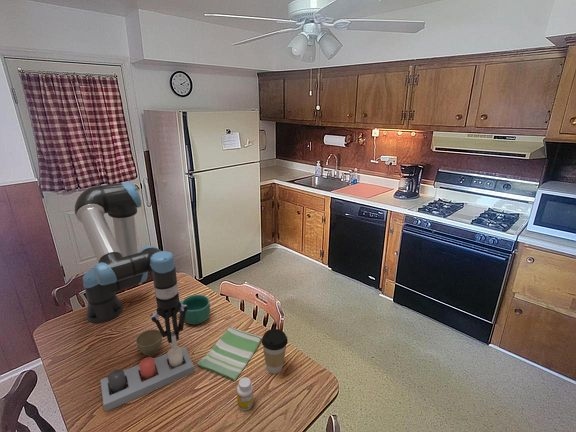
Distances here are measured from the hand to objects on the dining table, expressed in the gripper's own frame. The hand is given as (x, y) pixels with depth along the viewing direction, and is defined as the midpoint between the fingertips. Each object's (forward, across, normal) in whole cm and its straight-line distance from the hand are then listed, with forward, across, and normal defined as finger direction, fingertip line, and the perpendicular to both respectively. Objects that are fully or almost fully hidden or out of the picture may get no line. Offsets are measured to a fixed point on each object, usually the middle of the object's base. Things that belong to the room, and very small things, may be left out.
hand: (174, 347), depth 118 cm
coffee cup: (+10, +32, -20) cm, 39 cm away
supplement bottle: (+10, +15, -28) cm, 34 cm away
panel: (+10, -10, 0) cm, 14 cm away
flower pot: (+10, -7, +14) cm, 19 cm away
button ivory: (+8, 0, 0) cm, 8 cm away
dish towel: (+11, +21, -4) cm, 24 cm away
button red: (+8, -10, 0) cm, 13 cm away
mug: (+10, +15, +26) cm, 31 cm away
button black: (+8, -20, 0) cm, 22 cm away
